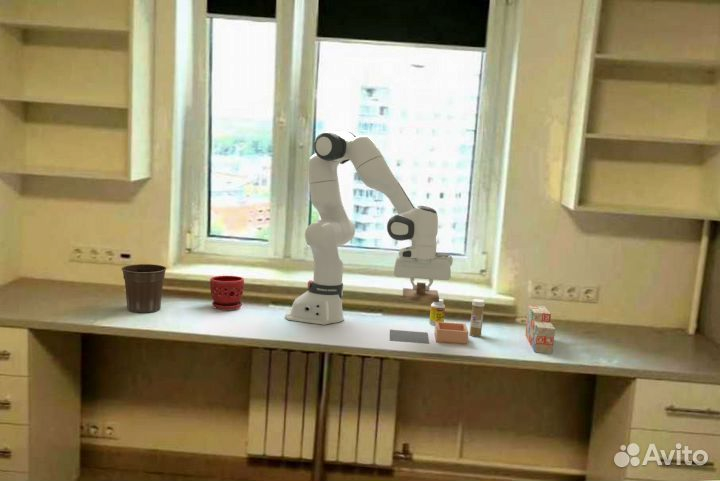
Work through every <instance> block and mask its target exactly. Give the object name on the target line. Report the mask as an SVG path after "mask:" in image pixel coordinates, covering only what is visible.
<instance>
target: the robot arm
mask: <svg viewBox="0 0 720 481" xmlns="http://www.w3.org/2000/svg"><path fill="white" fill-rule="evenodd" d="M313 149H314V152H315V153H314V154H313V155H311V157H309V160H308V166H307V167H308V170H307V171H308V183H309V190H310V192H309V193H310V200H311V204H312V206H313V207H314V209H315V210H317V212H318V215H319V216H320V219H318V220H315V221H314V222H312V223H310V224H309V225H308V226H307V227H306V228H305V232H304V238H305V242H306V243H307V244H308V245H309V246H310V250H311V252H312V257H313V263H314V264H313V279H312V280H311V279H310V280H309V281H307V290H306V291H305V292H303V293H302V294H300V295H299V296H297V297H296V298H295V299H294V300H293V303H292V306H291V309H289V310H288V311H286V312H285V319H286V320H288V321H295V322H300V323H308V324H309V323H311V324H314V325H315V324H317V325H324V326H325V325H329V324H337V323H341V322H342V321H344V320H345V317H344V314H343V313H344V312H343V300H342V298H343V295H344V283H343V275H344V263H343V261H342V260H341V259H340V256H339V250H338V247H340V246H343V245H346V244H348V243H349V242H350V241H351V240H352V239H354V236H355V234H356V228H355V225H354V223H353V221H352V220H351V219H350V218H349V216H348V215H347V212H346V210H345V208H344V205H343V202H342V196H341V192H340V185H339V183H340V182H339V178H338V166H339V165H343V164H345V163H347V162H349V161H350V162H351V163H352V166H353V167H354V169H355V171H356V173H357V175H358V177H359V178H360V180H361V181H362V183H363V184H364V185H365V187H368V188H370V189H373V190H376V191H378V192H380V193H381V194H383V195H385V196H386V197H387V198H388V200H389V201H390V203H391V204H392V206H393V208H394V210H395V211H396V212H397V213H396V214H394V215H392V216H391V217H390V218H389V219H388V221H387V223H386V224H387V225H386V231H387V233H388V235H389V237H390V238H391V239H392V240H394V241H399V242H400V241H401V242H402V241H409V240H410V241H411V245H409V246H408V247H407V246H406V247H403V248H399V250H398V256H397V257H396V260H395V263H394V268H393V275H394V277H396V278H408V279H409V281H410V283H411V285H412V289H413V290H417V284H415V282H414V281H415V279H424V280H428V282H429V283H428V285H426V287H425V291H429V290H431V289H430V287H431V286H432V284H433V283H434V280H438V281H439V280H441V281H449V280H450V279H451V277H452V276H451V273H452V270H451V267H452V266H453V257H452V255H450V254H448V253H440V252H439V253H438V252H437V244H438V243H437V236H438V231H439V217H438V211H436V210H435V209H434V208H433V207H430V206H424V205H417V206H415V205H414V204H413V203H412V201H411V200H410V197H408V194H406V192H405V190H404V188H403V187H402V186H401V184H400V182H399V181H398V179H397V178H396V177H395V175H394V174H393V171H392V170H391V169H390V166H389V165H388V163H387V161H386V159H385V157H384V156H383V154H382V152H381V151H380V149H379V147H378V146H377V145H376V143H375V142H374V141H373V139H372V138H371V137H370V136H369V135H365V134H364V135H358V136H357V135H356V134H354V133H353V132H349V131H342V130H335V131H325V132H322V133H320V134H318V136H317V137H315V139H314V143H313Z"/></svg>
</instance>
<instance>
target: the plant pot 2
mask: <svg viewBox="0 0 720 481" xmlns="http://www.w3.org/2000/svg"><path fill="white" fill-rule="evenodd" d="M209 285H210V286H209V287H210V294H211V298H212V303H211V305H212V306H213V308H215V309H217V310H222V311H233V310H237V309H239V308H240V307H242V305H243V303H242V301H241V299H242V297H243V294H244V286H245V278H244V277H242V276H237V275H216V276H211V277H210V282H209Z"/></svg>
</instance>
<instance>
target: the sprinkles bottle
mask: <svg viewBox="0 0 720 481" xmlns="http://www.w3.org/2000/svg"><path fill="white" fill-rule="evenodd" d="M471 305H472V308H471V315H470V316H471V317H470V322H469V323H470V325H469V326H470V327H469V332H468V335H470V336H472V337H477V338H478V337H481V336H482V329H483V322H484V321H483V320H484V309H485V306H486V305H485V300H484V299H480V298H474V299H473V298H472V303H471Z"/></svg>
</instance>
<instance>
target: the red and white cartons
mask: <svg viewBox="0 0 720 481" xmlns="http://www.w3.org/2000/svg"><path fill="white" fill-rule="evenodd" d="M551 316H552V313H551V312H550V311H549V310H548V309H547V307H546V306H545V305H534V304H528V306H527V314H526V326H525V334H524V335H525V338H526V339H527V341H528V343H529V345H530V346H531V348H532V350H533V352H534V353H540V354H541V353H542V354H549V355H550V354H551V355H552V354H553V350H554V340H555V336H556V328H555V327H554V325H553V324H552V322H551Z"/></svg>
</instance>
